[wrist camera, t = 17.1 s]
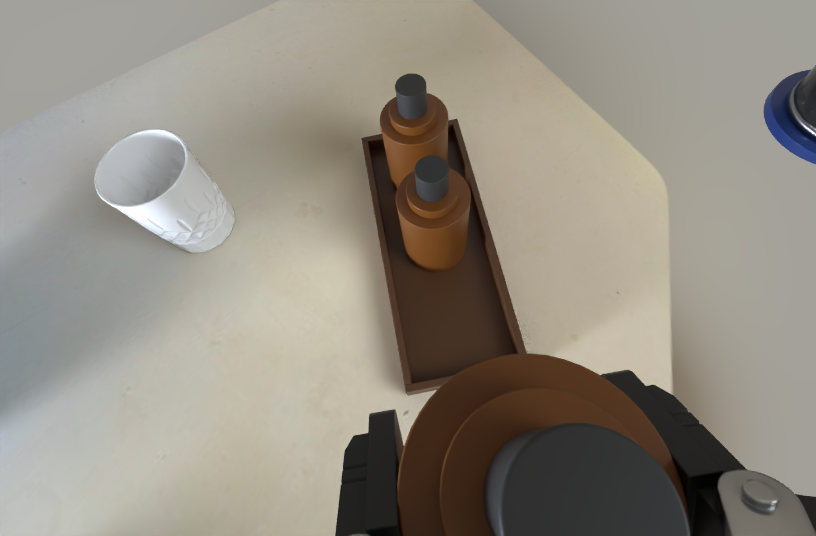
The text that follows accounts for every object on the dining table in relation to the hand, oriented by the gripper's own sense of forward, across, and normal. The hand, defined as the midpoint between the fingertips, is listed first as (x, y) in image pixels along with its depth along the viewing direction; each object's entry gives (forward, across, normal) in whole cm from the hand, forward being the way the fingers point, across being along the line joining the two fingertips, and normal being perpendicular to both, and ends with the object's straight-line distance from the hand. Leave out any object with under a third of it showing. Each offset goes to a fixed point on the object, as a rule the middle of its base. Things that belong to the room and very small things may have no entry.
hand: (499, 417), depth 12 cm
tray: (+29, -1, +5) cm, 30 cm away
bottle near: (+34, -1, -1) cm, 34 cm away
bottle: (+3, 0, +5) cm, 6 cm away
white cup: (+35, +22, 0) cm, 41 cm away
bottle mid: (+29, -1, +4) cm, 29 cm away
